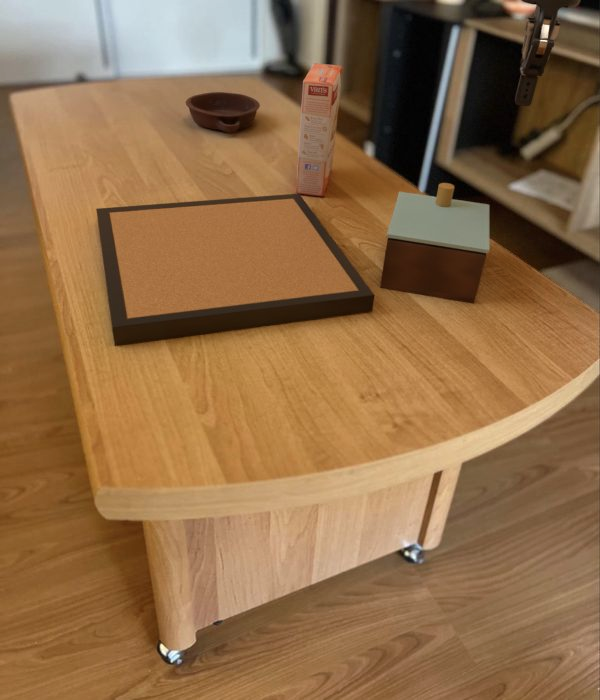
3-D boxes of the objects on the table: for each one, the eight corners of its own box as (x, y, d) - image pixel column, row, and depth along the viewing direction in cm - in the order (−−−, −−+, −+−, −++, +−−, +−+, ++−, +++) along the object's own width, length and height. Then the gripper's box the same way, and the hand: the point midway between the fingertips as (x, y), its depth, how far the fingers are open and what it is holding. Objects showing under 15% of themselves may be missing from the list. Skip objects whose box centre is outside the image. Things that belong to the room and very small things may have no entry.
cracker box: (325, 198, 120) (335, 83, 108) (294, 194, 121) (300, 79, 108) (334, 171, 132) (343, 64, 119) (305, 168, 132) (312, 61, 119)
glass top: (488, 208, 101) (494, 186, 98) (488, 253, 88) (494, 230, 86) (398, 194, 103) (402, 173, 101) (386, 237, 90) (389, 214, 88)
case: (475, 254, 106) (486, 209, 101) (474, 303, 93) (486, 255, 88) (392, 240, 108) (399, 196, 103) (380, 287, 95) (387, 239, 90)
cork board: (372, 311, 90) (298, 207, 116) (374, 294, 88) (299, 193, 115) (114, 345, 80) (98, 224, 107) (112, 327, 78) (96, 208, 105)
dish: (190, 139, 142) (189, 116, 139) (183, 109, 159) (182, 89, 156) (267, 137, 146) (267, 115, 143) (251, 109, 163) (251, 88, 160)
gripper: (598, -32, 73) (553, 121, 83) (584, -42, 83) (546, 95, 93) (531, -38, 74) (495, 114, 84) (525, -47, 84) (494, 89, 95)
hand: (522, 104), depth 89 cm, fingers closed
